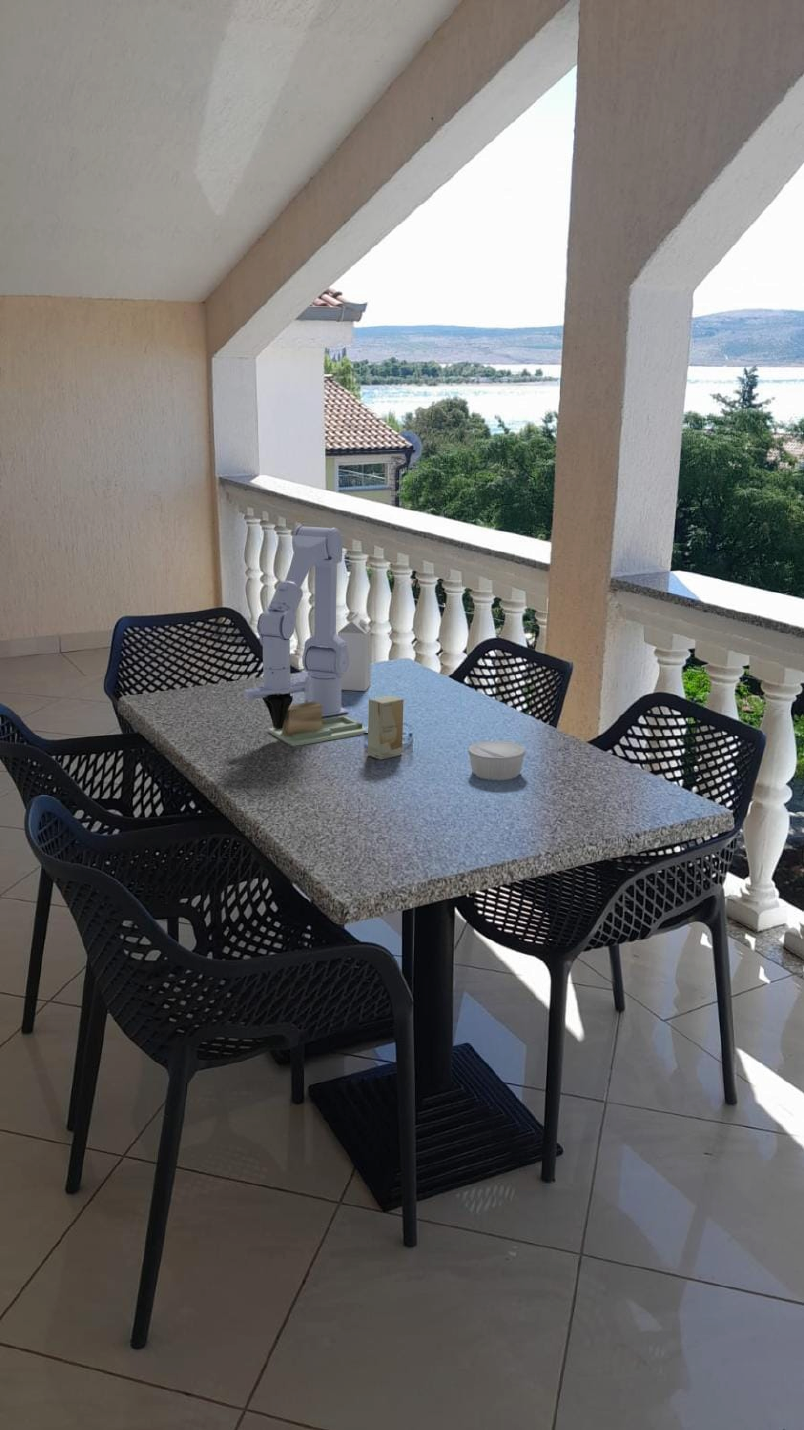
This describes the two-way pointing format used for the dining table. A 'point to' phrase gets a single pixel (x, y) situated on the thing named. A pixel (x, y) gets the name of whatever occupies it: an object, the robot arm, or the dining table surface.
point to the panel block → (303, 718)
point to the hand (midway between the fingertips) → (278, 727)
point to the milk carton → (357, 654)
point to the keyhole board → (324, 731)
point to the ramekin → (496, 760)
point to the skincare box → (385, 727)
